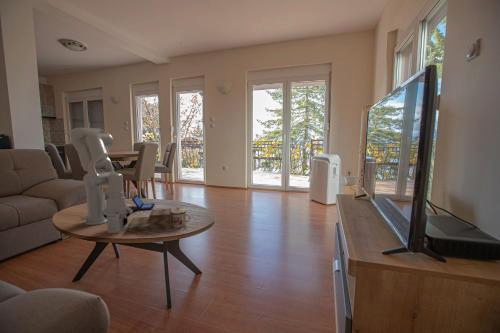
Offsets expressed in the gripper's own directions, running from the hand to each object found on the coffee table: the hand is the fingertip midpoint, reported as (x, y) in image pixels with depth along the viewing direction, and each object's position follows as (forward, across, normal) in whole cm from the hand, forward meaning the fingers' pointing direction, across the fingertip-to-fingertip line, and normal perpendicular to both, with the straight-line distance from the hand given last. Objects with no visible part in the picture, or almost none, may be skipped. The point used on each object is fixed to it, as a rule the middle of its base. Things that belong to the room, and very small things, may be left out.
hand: (117, 224), depth 136 cm
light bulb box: (+3, 0, 0) cm, 3 cm away
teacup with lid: (+3, +35, -1) cm, 35 cm away
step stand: (+3, +18, -2) cm, 18 cm away
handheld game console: (+3, +7, +44) cm, 45 cm away
